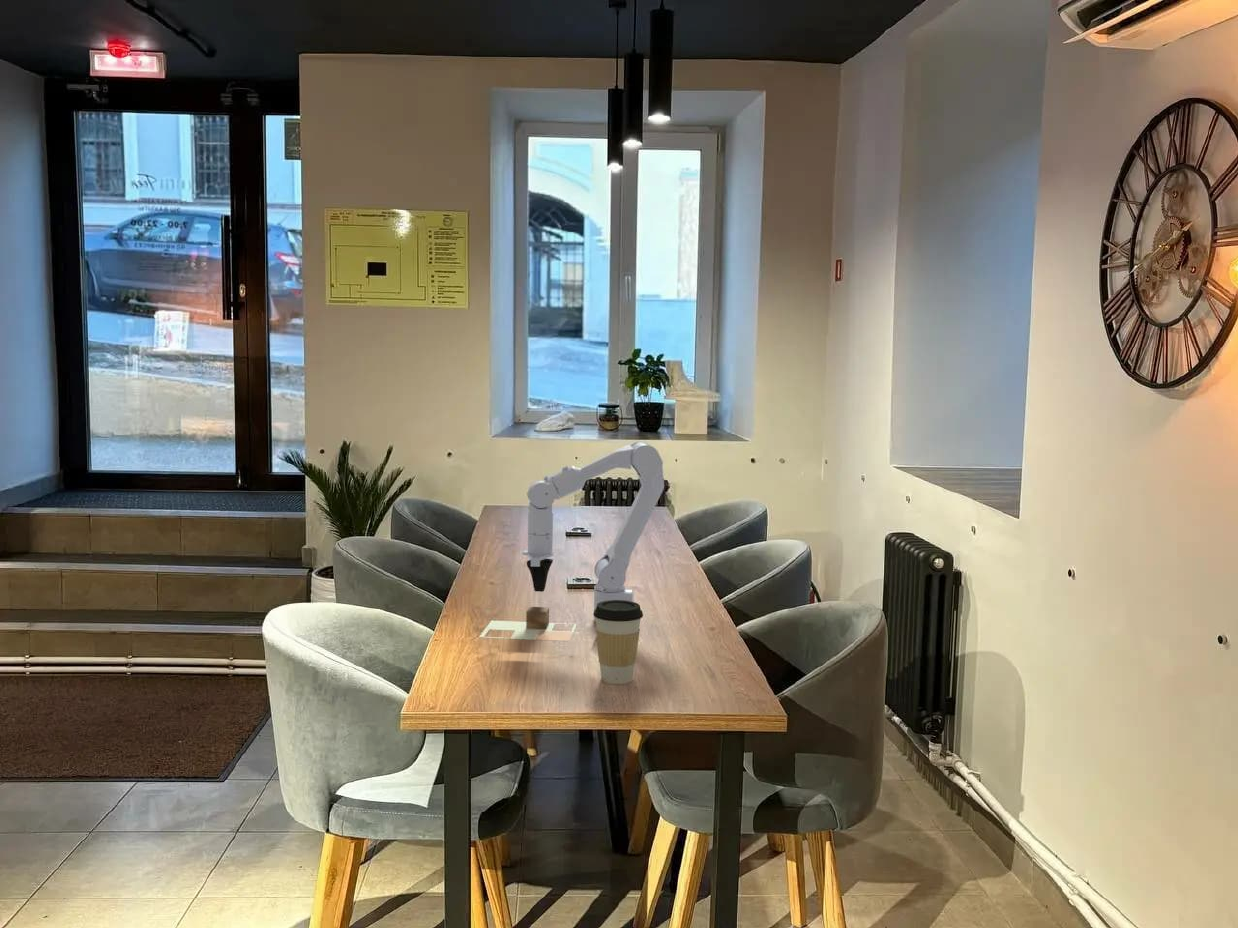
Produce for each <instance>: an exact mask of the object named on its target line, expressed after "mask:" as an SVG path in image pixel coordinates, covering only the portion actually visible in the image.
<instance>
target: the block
mask: <svg viewBox="0 0 1238 928" xmlns="http://www.w3.org/2000/svg"><path fill="white" fill-rule="evenodd" d="M525 613H526V614H525V615H526V616H525V618H526V620H525V622H526V629H543V630H546V629H547V627H548V625H549V623H550V607H546V606H529V607H528V608H527V610H526V611H525Z"/></svg>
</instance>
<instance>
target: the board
mask: <svg viewBox="0 0 1238 928" xmlns="http://www.w3.org/2000/svg"><path fill="white" fill-rule="evenodd" d="M555 625H566V623H564V622H563V623H561V622H549V625H548V627H547V629H546V630H543V629H526V621H516V620H515V621H511V620H491V621H490V622H489V623H488V624H487V626H486V627H485V628H484V630H483V631H482V632H481V634H479V636H478V638H480V639H481V638H484V639H503V637H500V636H499V637H497V636H495V637H494V636H486V634H487V633H488V632H489V631H490V630H492V631H514V632H513V633H512V635H511V637H504V639H505V640H506V639H510V640H511V639H512V640H531V641H532V640H536V641H553V642H554V641H556V642H557V641H559V642H560V641H561V642H570V641H571V638H572V636H573V634H574V632H575V629H576V627H577V625H578V624H577V623H569V626H570V625H571V626H572V625H573V627H572V629H571V631H570V630H569V631H567V630H566V631H565V630H553V629H554V626H555Z"/></svg>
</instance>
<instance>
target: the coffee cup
mask: <svg viewBox="0 0 1238 928" xmlns="http://www.w3.org/2000/svg"><path fill="white" fill-rule="evenodd" d="M594 616H595V617H596V621H595V625H596V626H595V634H596V645H597V655H598V662H599V668H600V669H599V670H600V679H601V681H602V682H604V683H606V684H609V685H625V684H628V683H631V682H632V681H633V676H634V670H635V664H636V660H637V652H638V645H639V639H640V633H641V630H640V626H641V619H642V618H643V617H644V613H643V611H642V609H641V605H640V604H639V603H637V602H635V601H633V602H631V601H625V600H609V601H603V602H600V603H598V604H597V607H596V609H595V610H594V609H593V617H594Z"/></svg>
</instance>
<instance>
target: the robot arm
mask: <svg viewBox="0 0 1238 928" xmlns="http://www.w3.org/2000/svg"><path fill="white" fill-rule="evenodd" d="M663 463H664V462H663V459H662V457H661V455H660V453H659V451H658V450H657V449H656V448H655V447H654V446H653V445H650V444H649V443H648V442H646V441H640V440H639V441H635V442H633V443H632V444H631V445H629V444H627V445H625V446H622V447H619V448H617V449H615V450H613V451H610V452H609V453H607V454H605V455H603V456H601V457H599V458H598V459H595V460H594V461H592V462H590V463H588V464H585V465H584V466H582V467H577V466H574V465H571V466H569V467H568V465H565V466H563V467H561V469H562V470H559V471H558V472H556V473H554V474H552V475H550V476H548V475H545V476H543V480H535V481H534V482H533V483H530V486H529V487H528V490H527V492H526V495H527V498H528V500H529V501H530V502H529V503H528V514H527V550H523V551H522V556H527V557H528V558H529V559H528V560H527V561H526V566H527V568H528V570H529V573H530V575H531V580H532V585H533V586H532V587H533V590H534V592H539V593H544V591H545V590H546V585H547V580H548V575H549V571H550V569H551V566H552V564H553V562H554V559H552V557H553V556H554V551H553V542H554V541H553V537H554V536H553V532H554V531H553V530H554V526H553V525H554V514H553V504H554V502H555V500H558V501H559V500H560V499H563V498H564V497H565V498H566V497H567V496H569V495H571V494H573V493H576V492H577V491H580V490H582V489H584V486H585V483H586V481H589V480H591V479H593V478H595V477H597V476H600V475H603V474H605V473H607V472H610V471H612V470H614V469H617V468H619V469H626V470H632V469H634V470H635V472H636V474H637V477H638V479H639V483H640V484H641V485H640V488H639V490H638V492H637V494H636V496H635V498H634V500H633V502H632V504H631V506H630V508H629V511H628V513H627V515H626V516H625V518H624V520H623V521H622V525H621V526H620V529H619V530H618V533H617V534H616V536H615V538H614V540H613V543H612V544H611V546H610V547H608V549H607V550H606V551H605V554H604V555H603V556H602V557H600V559H598V560H597V562H596V563H595V565H594V575H595V578H596V579H597V582H596V583H595V585H594V586H593V587H594V588H593V593H594V595H593V611H594V610H595V609H596V607H597V604H598V603H600V602H603V601H609V600H625V601H631V602H635V601H634V589H627V588H626V586H625V583H626V579H627V578H626V573H627V569H628V567H629V565H630V560H631V556H632V553H633V552H634V550H635V547H636V545H637V543H638V541H639V540H640V537H641V535H642V534H643V531H644V529H645V527H646V526H647V524H648V521H649V519H650V517H651V516H652V513H653V511H654V509H655V507H656V505H657V504H658V501H659V500H660V497H661V495H662V493H663V492H664V489H665V480H664V470H663ZM593 621H594V622H596V617H595V616H594V615H593Z"/></svg>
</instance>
